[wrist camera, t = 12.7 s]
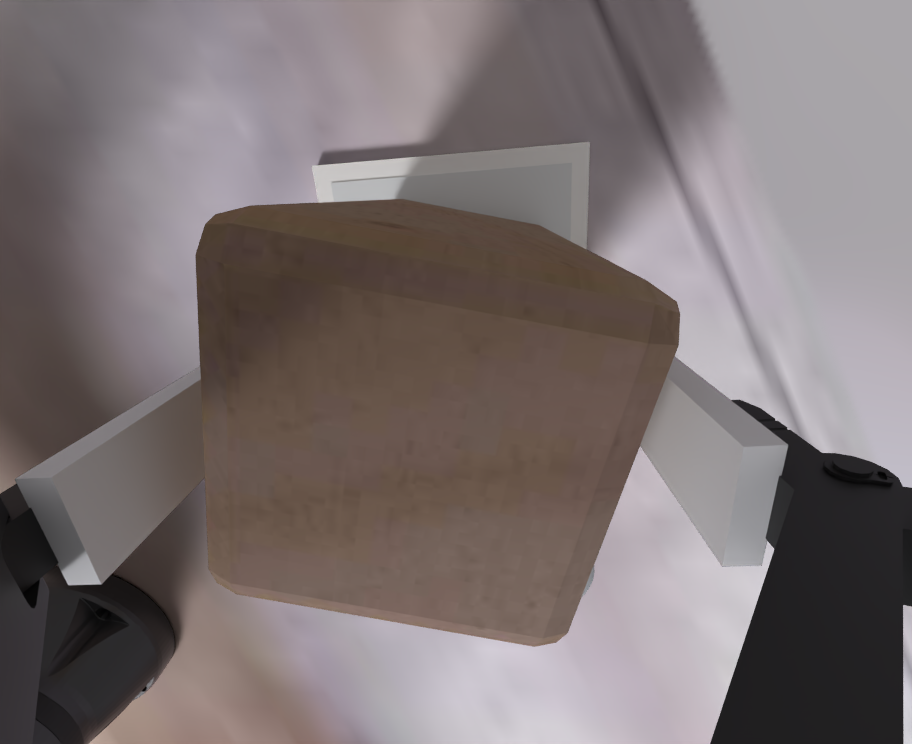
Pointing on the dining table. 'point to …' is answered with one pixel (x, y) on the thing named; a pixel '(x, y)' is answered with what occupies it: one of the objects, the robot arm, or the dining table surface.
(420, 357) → the wooden block
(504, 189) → the shallow square tray
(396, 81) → the dining table surface
